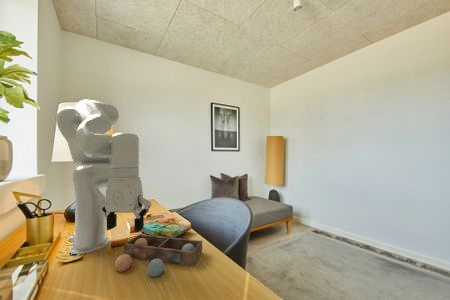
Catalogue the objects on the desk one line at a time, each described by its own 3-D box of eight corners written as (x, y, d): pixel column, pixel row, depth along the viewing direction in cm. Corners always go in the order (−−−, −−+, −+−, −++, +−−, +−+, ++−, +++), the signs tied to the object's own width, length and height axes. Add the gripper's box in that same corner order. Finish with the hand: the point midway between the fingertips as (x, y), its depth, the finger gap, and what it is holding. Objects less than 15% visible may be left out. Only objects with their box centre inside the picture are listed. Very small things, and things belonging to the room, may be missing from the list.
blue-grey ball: (178, 261, 59) (179, 246, 59) (184, 253, 64) (184, 240, 64) (192, 262, 58) (192, 248, 58) (197, 255, 63) (197, 241, 63)
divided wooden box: (123, 258, 61) (123, 244, 62) (139, 246, 70) (139, 234, 70) (193, 268, 56) (193, 253, 56) (202, 254, 64) (202, 240, 64)
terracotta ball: (110, 274, 54) (111, 258, 54) (122, 264, 58) (122, 250, 58) (124, 276, 53) (124, 260, 53) (135, 266, 57) (135, 252, 57)
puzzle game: (160, 216, 91) (190, 224, 80) (160, 225, 91) (190, 235, 80) (139, 224, 81) (170, 234, 70) (138, 234, 81) (170, 246, 70)
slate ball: (143, 279, 51) (143, 263, 51) (153, 269, 56) (153, 254, 56) (158, 282, 50) (158, 265, 50) (166, 271, 55) (166, 256, 55)
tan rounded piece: (130, 254, 63) (130, 241, 63) (139, 247, 68) (139, 235, 68) (142, 255, 62) (142, 242, 62) (150, 249, 67) (150, 236, 67)
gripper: (91, 174, 54) (90, 232, 53) (142, 174, 50) (142, 237, 50) (111, 172, 61) (111, 223, 61) (157, 172, 58) (157, 226, 57)
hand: (125, 229), depth 55 cm, fingers open, 9 cm apart
